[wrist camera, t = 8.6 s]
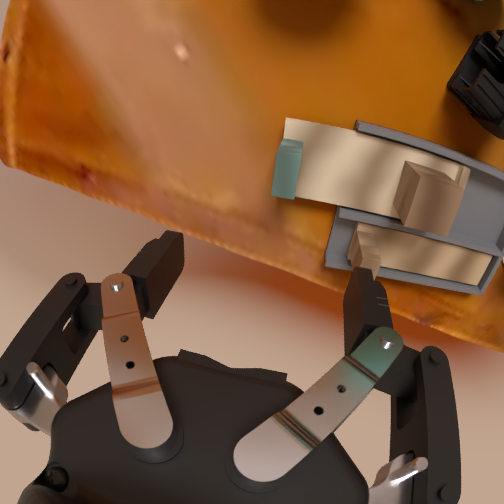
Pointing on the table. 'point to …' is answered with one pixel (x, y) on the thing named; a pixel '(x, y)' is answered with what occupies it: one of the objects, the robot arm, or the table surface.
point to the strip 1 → (348, 166)
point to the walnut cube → (427, 199)
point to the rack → (461, 233)
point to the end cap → (482, 81)
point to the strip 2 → (415, 254)
